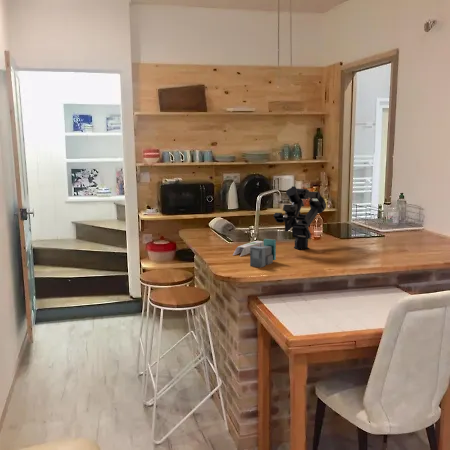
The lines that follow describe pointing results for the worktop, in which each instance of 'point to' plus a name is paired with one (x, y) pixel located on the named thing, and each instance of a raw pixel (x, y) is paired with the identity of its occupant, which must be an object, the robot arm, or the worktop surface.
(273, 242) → the teal green slab
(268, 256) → the sleeve
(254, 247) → the socket
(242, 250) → the box
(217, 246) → the worktop surface
